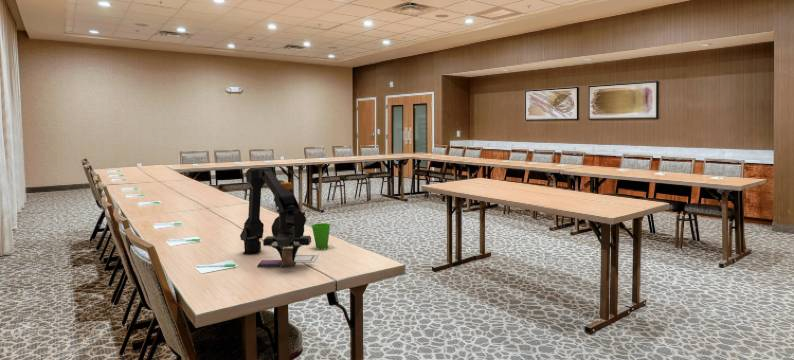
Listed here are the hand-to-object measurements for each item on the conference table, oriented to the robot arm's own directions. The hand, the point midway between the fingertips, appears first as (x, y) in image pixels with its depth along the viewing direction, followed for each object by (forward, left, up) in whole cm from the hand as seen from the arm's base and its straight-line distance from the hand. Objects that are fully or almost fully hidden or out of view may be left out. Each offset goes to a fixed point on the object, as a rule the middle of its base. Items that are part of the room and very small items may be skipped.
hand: (288, 261), depth 201 cm
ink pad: (-8, +2, -2) cm, 8 cm away
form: (+4, +10, -2) cm, 11 cm away
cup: (+9, +28, -2) cm, 29 cm away
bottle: (-9, +38, -2) cm, 39 cm away
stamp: (0, 0, -2) cm, 2 cm away
